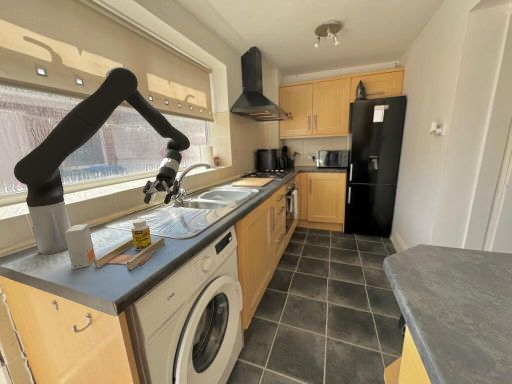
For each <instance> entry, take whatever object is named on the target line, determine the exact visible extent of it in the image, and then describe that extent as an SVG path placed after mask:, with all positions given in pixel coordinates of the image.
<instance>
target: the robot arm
mask: <svg viewBox="0 0 512 384" xmlns="http://www.w3.org/2000/svg"><path fill="white" fill-rule="evenodd" d="M138 82H139V81H138V78H137V76H136V74H135V73H134V72H133V71H132V70H130V69H129V68H126V67H123V66H116V67H112V68H111V69H108V71H107V72H106V74H105V79H104V81H103V82H102V83H101V84H100V85H99V87H98V88H97V89H96V90H95V91H94V92H93V93H92V94H90V95H89V96H87V97H86V98H84V99H83V100H81V101H80V102H78V104H76V105H75V106H74V107H72V109H71V110H70V111H68V112H67V114H66V115H64V116H63V117H62V119H61V120H60V121H59V122H58V123H57V124H56V126H55V127H54V128H53V129H52V130H51V131H50V133H49V134H48V135H47V137H46V138H45V139H44V140H43V141H42V142H41V143H40V144H38V145H37V146H36V147H35V148H34V149H32V151H30V152H29V153H28V154H26V155H25V156H24V157H22V158H21V159H20V160H19V161H18V162H17V163H16V164H15V165H14V168H13V175H14V178H15V179H16V180H17V181H18V182H19V183H21V184H23V185H25V186H26V188H27V195H26V198H25V200H26V201H25V202H26V205H27V209H28V212H29V215H30V219H31V222H32V226H31V230H32V233H33V236H34V239H35V243H36V247H37V250H38V252H40V254H41V255H52V254H56V253H61V252H64V251H68V247H67V243H66V239H65V234H64V232H66V231H67V230H68V229H69V228H71V227H72V226H71V222H70V218H69V214H68V209H67V206H66V202H65V201H66V200H65V197H64V195H65V194H64V193H65V190H64V189H65V188H64V185H63V180H62V175H61V171H60V169H59V168H60V166H61V165H62V164H63V163H64V161H65V160H66V159H67V158H68V157H69V156H70V155H71V154H73V153H74V152H76V151H77V150H79V149H81V148H82V147H83V146H84V145H85V144H86V143H87V142H89V141H90V140H91V139H92V138H93V137H94V136H95V135H96V134H97V133H98V131H100V129H102V127H103V126H104V125H105V123H106V122H107V121H108V120H109V118H110V117H111V116H112V114H113V113H114V111H115V110H116V109H117V108H118V107H119V106H120V105H122V104H123V103H124V102H126V103H127V104H129V105H130V107H132V108H133V109H134V110H135V112H137V113H138V114H139V115H140V116H141V117H142V118H143V119H144V120H145V121H146V122H147V124H149V126H150V127H152V129H153V130H154V131H155V132H156V133H157V134H158V135H159V136H160V137H161V138H163V139H169V140H168V141H167V142H166V150H165V155H164V158H163V160H162V162H161V163H160V166H159V167H158V170H157V173H156V175H155V180H154V181H151V180H147V181H146V183H145V185H144V188H143V189H142V193H143V194H144V195H145V196H144V198H143V203H144V204H146V205H149V204H150V203H151V202H150V201H151V199H152V196H154V195H155V194H157V193H159V192H160V193H161V192H165V193H166V192H167V193H166V195H165V197H164V200H163V203H164V204H165V205H169V204H170V202H171V200H172V197H173V196H177V195H178V194H179V191H180V186H181V183H180V181H178V180H177V179H176V178H177V175H178V172H179V170H180V169H179V168H180V165H181V163H182V159H183V155H182V153H181V152H183V151H187V150H188V149H189V148H190V147H191V143H190V139H189V138H188V136H187V135H185V134H184V133H183V132H181V131H180V130H179V129H177V128H176V127H174V126H173V125H172V124H171V122H170V121H169V120H168V119H167V118H166V117H165V115H164V114H162V113H161V112H160V111H159V110H158V109H157V108H156V107H154V105H153V104H151V103H150V102H149V101H148V100H147V98H145V97H144V96H143V95H142V94H141V92H140V91H139V90H138V85H139V83H138ZM171 188H172V189H171Z"/></svg>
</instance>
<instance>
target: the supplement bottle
mask: <svg viewBox="0 0 512 384" xmlns="http://www.w3.org/2000/svg"><path fill="white" fill-rule="evenodd" d="M146 220H147V219H145V218H138V219H134V220H133V221H132V227H131V235H132V237H133V242H134V246H133V247H134V249H135V250H136V251H143V250H144V249H145V248H147V247H148V246H149V245H151V244H152V243H153V242H152V236H151V231H150V225H149V223H147V221H146Z"/></svg>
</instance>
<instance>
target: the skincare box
mask: <svg viewBox="0 0 512 384" xmlns="http://www.w3.org/2000/svg"><path fill="white" fill-rule="evenodd" d="M64 234H65V239H66V243H67V247H68V249H67V251H68V256H69V259H70V263H71V269H72V270H77V269H81V268H85V267H90V265H91V264H92V262H93V261H94V260H95V259H96V254H95V249H94V244H93V239H92V235H91V230H90V225H89V223H85V224H77V225H75V224H74V225H72V226H71V228H69V229H68V230H67V231H66V232H64Z"/></svg>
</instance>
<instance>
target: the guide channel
mask: <svg viewBox="0 0 512 384" xmlns="http://www.w3.org/2000/svg"><path fill="white" fill-rule="evenodd" d="M164 245H165V237H164V236H163V237H161V236H160V237H159V238H158V239H156V240H154V242H152V244H151V245H149V246H148V247H147V248H145V249H144V250H140V251H139V253H137V254H136V255H135V254H134V255H133V254H132V255H130V254H122V253H124V252H125V251H127V250H129V249H131V248H132V247H134V242H133V236H132V237H131V238H129V239H128V240H126V241H124V242H122V243H121V244H119V245H117V246H115V247H114V248H112V249H110V250H109V251H107V252H106V253H103V254H102V255H100V256H98V257H97V258H94V260H93V261H94V266H95V268H97V269H99V268H101V267H102V266H105V265H106V264H111V265H112V264H113V265H127V270H129V271H132V270H134V269H135V268H136V267H137V266H143V265H144V264H145V263H147V262H148V261H149V260H150V259H151V258H152V257H153V256H152V254H154V253H155V252H156V251H157V250H159V249H160V248H161V247H163V246H164Z"/></svg>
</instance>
